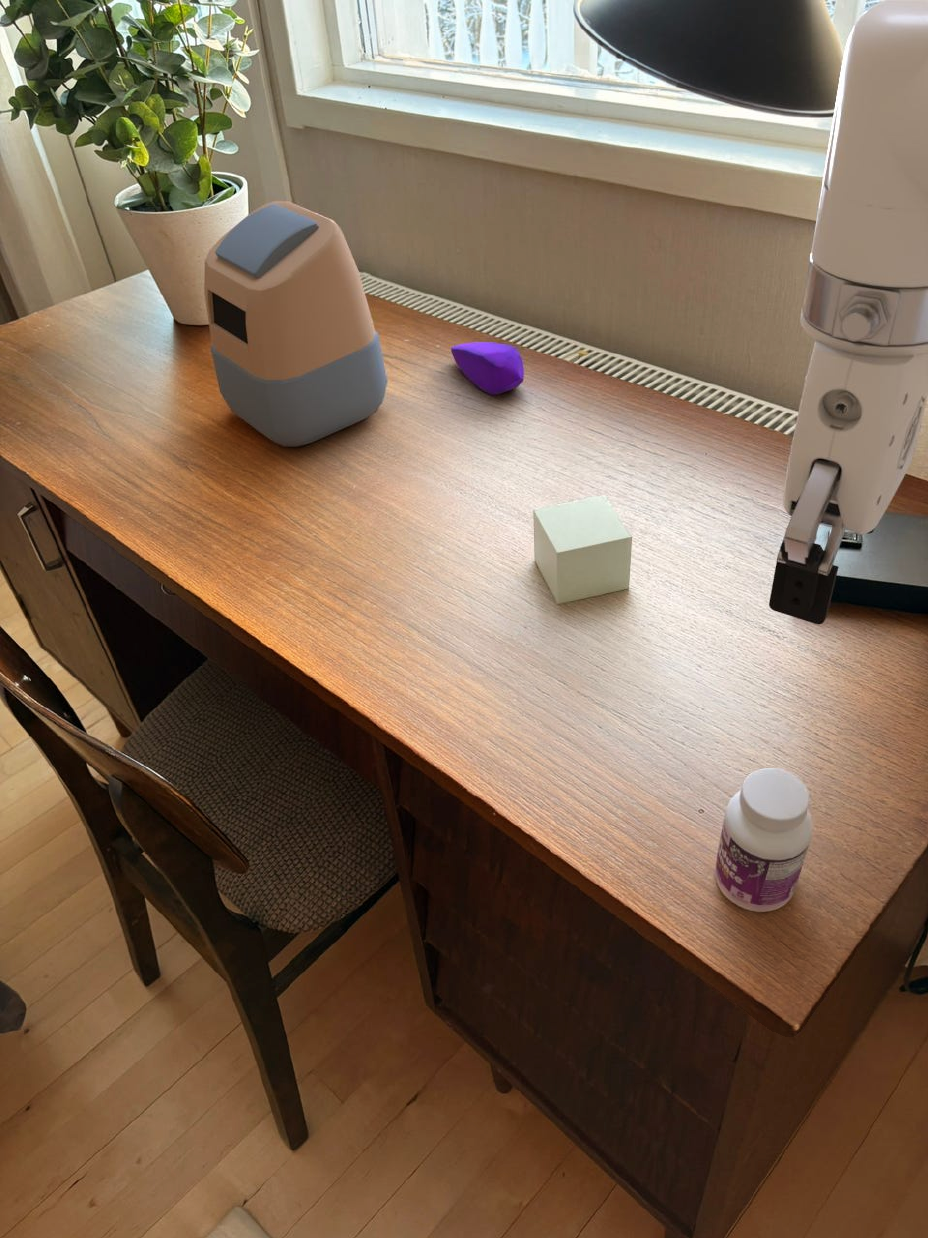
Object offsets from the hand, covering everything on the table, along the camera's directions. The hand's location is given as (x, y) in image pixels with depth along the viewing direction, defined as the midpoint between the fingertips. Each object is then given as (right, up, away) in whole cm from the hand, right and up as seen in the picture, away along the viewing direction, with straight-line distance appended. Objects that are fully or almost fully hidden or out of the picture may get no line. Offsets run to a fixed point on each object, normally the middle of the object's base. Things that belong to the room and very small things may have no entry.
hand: (823, 568), depth 58 cm
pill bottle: (-2, -21, +6) cm, 22 cm away
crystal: (-19, +27, +62) cm, 70 cm away
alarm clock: (-41, +22, +58) cm, 75 cm away
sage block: (-11, +1, +32) cm, 34 cm away
